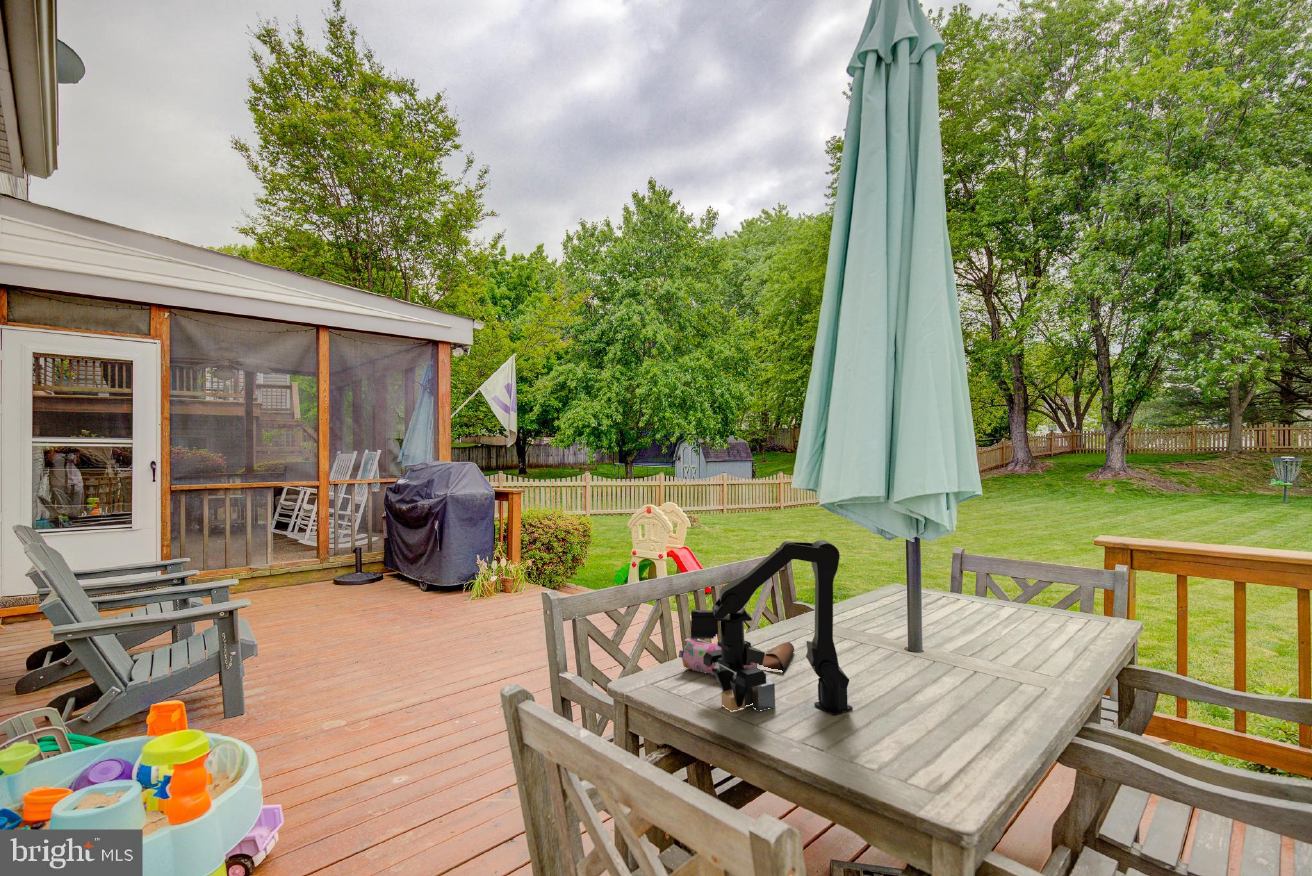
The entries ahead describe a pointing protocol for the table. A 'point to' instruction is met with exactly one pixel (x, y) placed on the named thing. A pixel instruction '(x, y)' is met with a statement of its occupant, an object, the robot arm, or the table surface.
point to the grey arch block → (763, 695)
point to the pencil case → (700, 655)
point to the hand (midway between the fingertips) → (734, 703)
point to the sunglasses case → (778, 656)
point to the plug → (730, 701)
